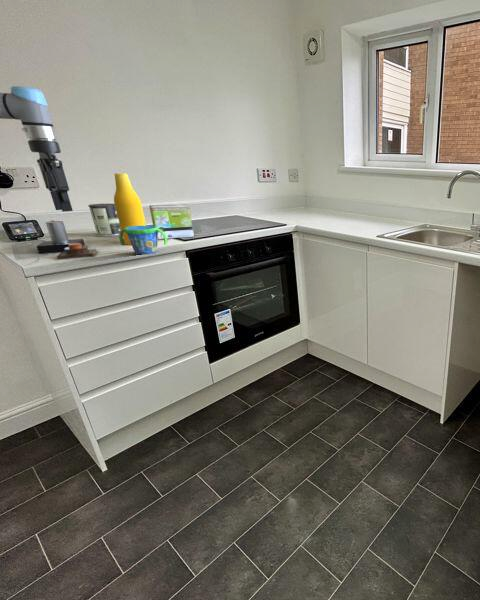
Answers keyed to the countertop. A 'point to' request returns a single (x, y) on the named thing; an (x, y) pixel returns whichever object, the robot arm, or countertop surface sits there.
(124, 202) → the beer bottle
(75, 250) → the button block
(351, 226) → the countertop surface
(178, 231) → the tea box
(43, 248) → the control panel
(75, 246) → the button
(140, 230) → the snack cup
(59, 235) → the dial
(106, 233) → the coffee can
